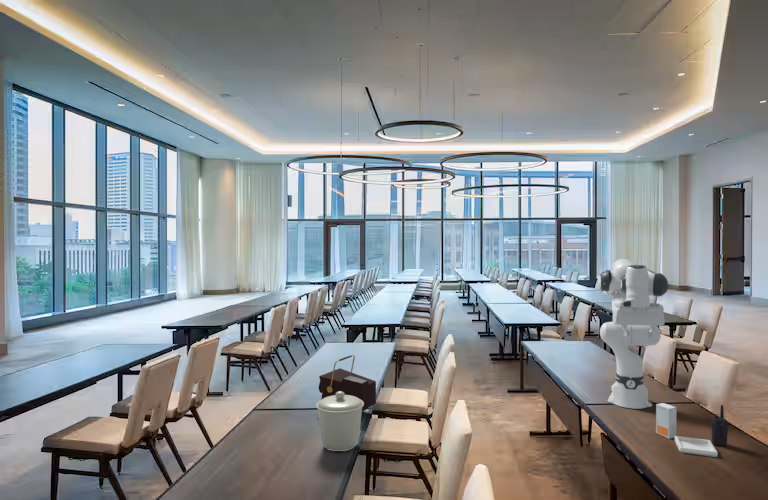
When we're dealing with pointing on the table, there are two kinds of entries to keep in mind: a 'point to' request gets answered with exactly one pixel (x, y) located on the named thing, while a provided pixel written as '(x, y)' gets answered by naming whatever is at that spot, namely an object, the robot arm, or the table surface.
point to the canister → (340, 420)
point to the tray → (695, 446)
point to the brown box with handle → (348, 385)
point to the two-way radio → (719, 429)
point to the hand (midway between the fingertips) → (638, 336)
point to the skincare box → (666, 420)
